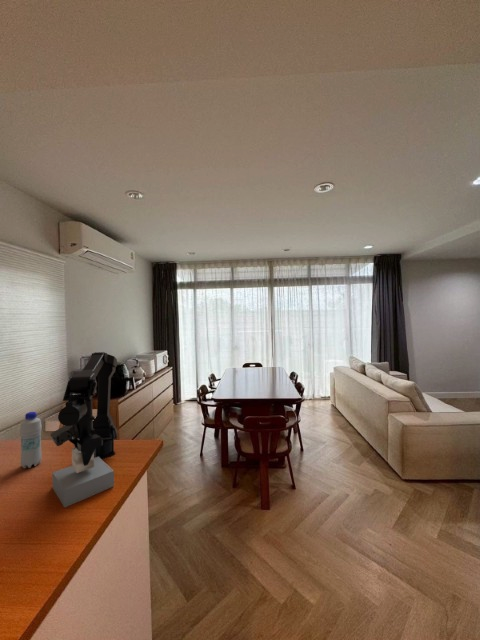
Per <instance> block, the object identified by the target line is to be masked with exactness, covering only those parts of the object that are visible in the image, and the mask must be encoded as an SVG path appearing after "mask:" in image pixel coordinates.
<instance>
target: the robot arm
mask: <svg viewBox="0 0 480 640" xmlns="http://www.w3.org/2000/svg"><path fill="white" fill-rule="evenodd" d="M117 366H118V358H116V357H115V356H114V355H112V354H108V353H107V352H104V351H102V352H101V351H100V352H99V351H98V352H92V353H91V355H90V358H89V360H88V362H86V364H85V366H84V367H83V369H82V370H81V371H79V372H76V373H75V374H73V375H72V376H71V377H70V379H69V380H67V382H66V383H67V384H66V386H65V387H66V388H65V391H64V394H63V399H62V400H63V402H65V406H64V407H63V408H61V409H60V410H59V413H58V415H57V418H58V422H59V423H60V424H61V425H63V426H62V427H60V428H57V429H56V430H55V431H53V432H51V433H50V437H51V439H52V441H53V443H54V444H55V445H56V447H60V446H62V445H64V443H66V442H67V441H68V442H70V443H71V444H73V446H74V448H77V449H78V450H79V451H81V454H82V459H83V464H84V466H86V465H88V463H89V461H90V459H91V457H92V455H93V453H94V458H96V457H99V458H101V459H102V460H103V459H105V458H108V457H111V456H114V455H116V451H115V448H114V447H115V446H114V443H115V439H118V429H117V428H116V425H115V424H114V422H115V420H114V418H113V417H112V415H111V413H110V411H111V409H110V408H111V386H112V384H111V383H112V377H113V375H114V374H115V372H116V370H117V369H116V368H117ZM96 377H97V378H98V382H97V379H96ZM96 390H97V405H96V416H94V415H93V397H94V396H95V394H96Z"/></svg>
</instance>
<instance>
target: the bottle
mask: <svg viewBox="0 0 480 640" xmlns="http://www.w3.org/2000/svg"><path fill="white" fill-rule="evenodd" d="M24 417H25V418H24V420H23V421H21V423H20V427H19V436H20V450H21V451H20V465H21V467H22V468H23V469H26V468H28V469H30V468H32V466H34V467H37V466H38V465H39V464H40V463H41V462H42V445H41V444H42V443H41V441H42V439H41V438H42V437H41V436H42V435H41V434H42V427H43V426H42V420H41V418H39V417H37V412H36V411H29V412H26V413H25V416H24Z"/></svg>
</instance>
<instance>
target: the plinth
mask: <svg viewBox="0 0 480 640" xmlns="http://www.w3.org/2000/svg"><path fill="white" fill-rule="evenodd" d="M113 487H115V470H113V469H112V467H110V466H109V465H108V464H107V463H106V462H105V461H104V460H103V458H102V459H101V458H99V457H94V467H92V468H90V469H87V470H84V471H81V472H79V473H76V472H75V471H74V469H73V468H72V465H70V466H66V467H64V468H61V469H59V470H56V471H53V472H52V489H53V491H54V493H55V495H56V496H57V498H58V500H59V501H60V503H61V504H62V506H63V508H67V507H69V506H71V505H74V504H76V503H79V502H81V501H83V500H85V499H88V498H90V497H93V496H95V495H97V494H99V493H102V492H104V491H106V490H108V489H110V488H113Z"/></svg>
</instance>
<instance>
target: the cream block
mask: <svg viewBox="0 0 480 640" xmlns="http://www.w3.org/2000/svg"><path fill="white" fill-rule="evenodd" d="M94 458H95V456H94V453H93V455H92V457H91V459H90V461H89V463H88V465H86V466H84V464H83V459H82V454H81V451H79V450H78V449H77V448H75V447H73V448H71V466H72V468H73V469H74V471H75V472H76V473H79V472H81V471H84V470H87V469H90V468H92V467H94Z"/></svg>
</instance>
